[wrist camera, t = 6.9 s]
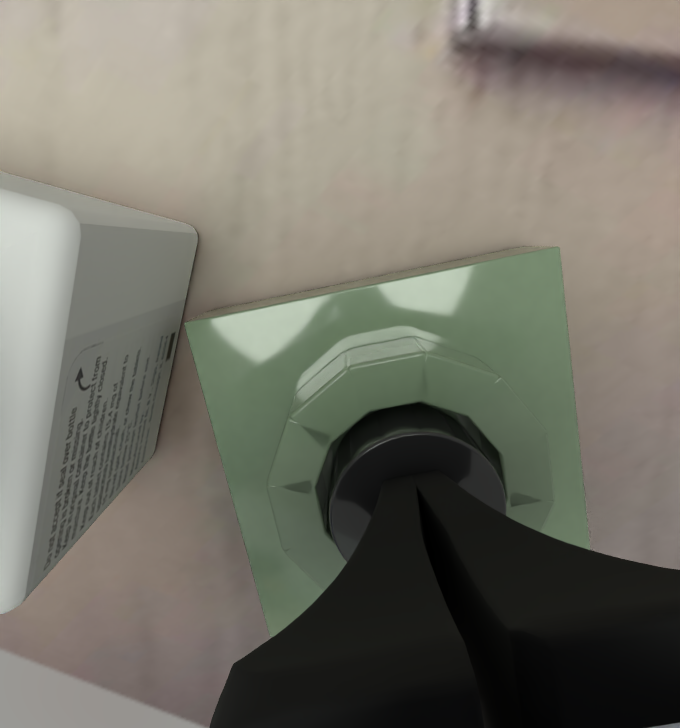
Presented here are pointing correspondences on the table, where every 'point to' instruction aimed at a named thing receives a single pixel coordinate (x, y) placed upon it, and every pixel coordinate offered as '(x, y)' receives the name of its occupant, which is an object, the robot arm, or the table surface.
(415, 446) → the dark grey push button
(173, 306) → the container
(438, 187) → the table surface
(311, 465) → the push button base
